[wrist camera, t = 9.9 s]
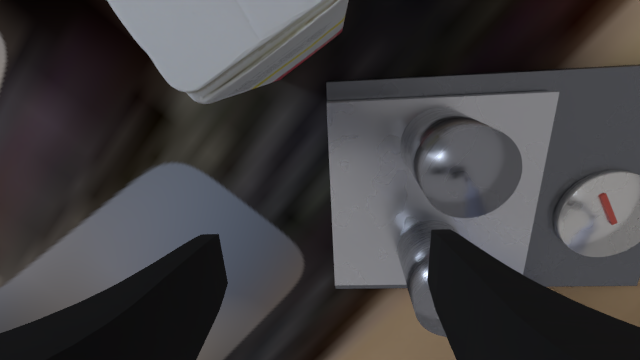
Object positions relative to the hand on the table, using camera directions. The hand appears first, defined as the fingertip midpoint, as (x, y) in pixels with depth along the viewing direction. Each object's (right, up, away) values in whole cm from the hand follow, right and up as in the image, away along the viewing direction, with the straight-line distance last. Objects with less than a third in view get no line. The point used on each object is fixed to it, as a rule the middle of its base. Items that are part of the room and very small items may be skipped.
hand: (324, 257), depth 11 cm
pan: (+7, +2, +9) cm, 11 cm away
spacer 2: (+6, +5, +7) cm, 11 cm away
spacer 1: (+7, -2, +9) cm, 12 cm away
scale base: (+11, +2, +10) cm, 15 cm away
